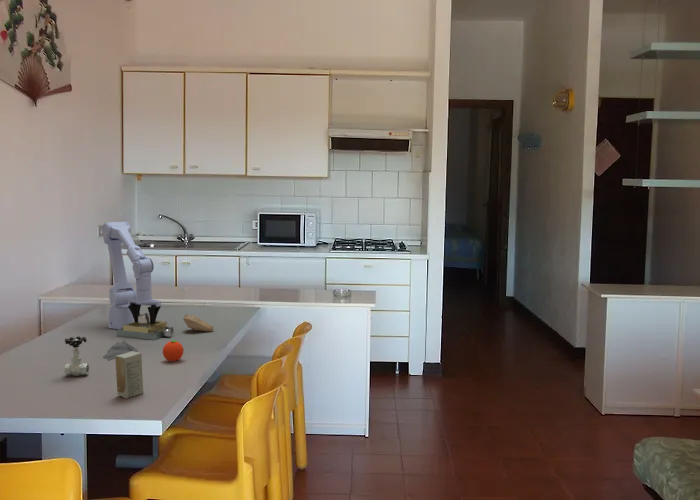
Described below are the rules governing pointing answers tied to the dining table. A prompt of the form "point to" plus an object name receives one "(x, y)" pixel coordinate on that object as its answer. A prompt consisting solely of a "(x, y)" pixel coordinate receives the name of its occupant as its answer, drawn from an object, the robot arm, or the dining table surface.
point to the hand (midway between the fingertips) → (144, 322)
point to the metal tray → (146, 331)
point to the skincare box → (129, 374)
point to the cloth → (119, 350)
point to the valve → (76, 358)
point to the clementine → (173, 351)
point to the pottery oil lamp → (197, 323)
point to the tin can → (144, 320)
